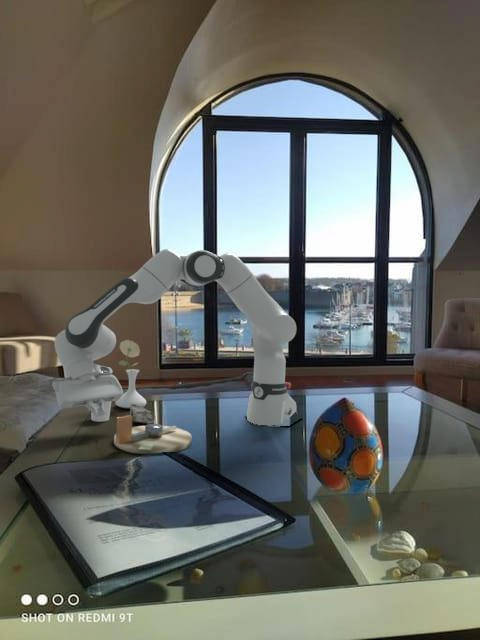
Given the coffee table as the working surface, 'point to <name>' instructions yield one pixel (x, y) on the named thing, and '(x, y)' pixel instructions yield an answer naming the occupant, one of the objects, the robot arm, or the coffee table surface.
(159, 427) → the grey pivot bar
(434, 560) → the coffee table surface
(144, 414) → the mineral rock
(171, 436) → the stand
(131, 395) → the flower in vase
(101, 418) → the white cylinder
